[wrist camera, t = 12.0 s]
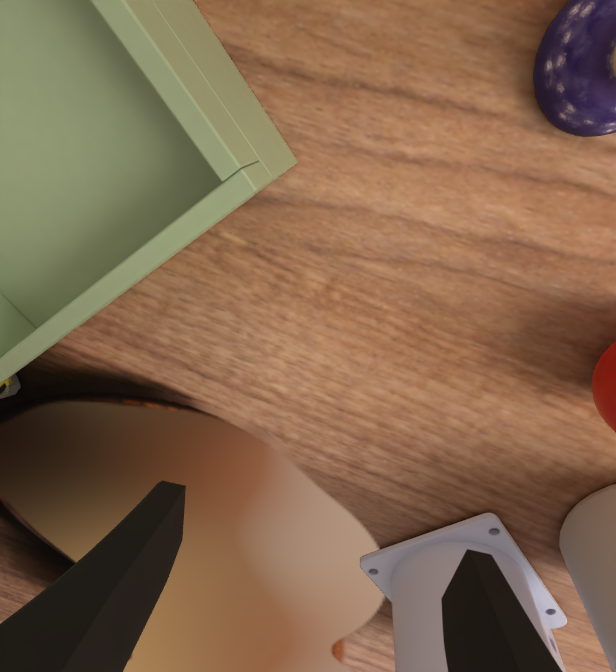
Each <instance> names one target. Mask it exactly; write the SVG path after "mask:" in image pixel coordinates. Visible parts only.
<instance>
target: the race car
mask: <svg viewBox="0 0 616 672" xmlns="http://www.w3.org/2000/svg"><path fill="white" fill-rule="evenodd" d="M20 388H21V386H20V383H19V380H18V378H17V375H16V374H13V375H12V376H11V377H9V378H8V379H7V380H5V381H4V382H0V399H1V398H4V397H8V396H11V395H14V394H16V393H17V391H18V389H20Z"/></svg>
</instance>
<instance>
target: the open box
mask: <svg viewBox="0 0 616 672" xmlns="http://www.w3.org/2000/svg"><path fill="white" fill-rule="evenodd" d="M296 164H297V160H296V158H295V156H294V155H293V153H292V152H291V150H290V149H289V147H288V146H287V144H286V143H285V141H284V140H283V138H282V137H281V135H280V133H279V132H278V130H277V129H276V127H275V126H274V124H273V123H272V121H271V120H270V118H269V117H268V115H267V114H266V112H265V110H264V109H263V107H262V106H261V104H260V103H259V101H258V100H257V98H256V97H255V95H254V94H253V92H252V91H251V89H250V87H249V86H248V84H247V83H246V81H245V80H244V78H243V77H242V75H241V74H240V72H239V71H238V69H237V68H236V66H235V64H234V63H233V61H232V60H231V58H230V57H229V55H228V54H227V52H226V51H225V49H224V48H223V46H222V45H221V43H220V41H219V40H218V38H217V37H216V35H215V34H214V32H213V31H212V29H211V28H210V26H209V25H208V23H207V22H206V20H205V19H204V17H203V15H202V14H201V12H200V11H199V9H198V8H197V6H196V5H195V3H194V2H193V0H0V382H4V381H5V380H7V379H8V378H9V377H11V376H12V375H13V374H15V373H16V372H17V371H19V370H20V369H22V368H23V367H24V366H26V365H27V364H28V363H30V362H31V361H32V360H34V359H35V358H36V357H38V356H39V355H41V354H42V353H43V352H45V351H46V350H47V349H49V348H50V347H51V346H53V345H54V344H56V343H57V342H58V341H60V340H61V339H62V338H64V337H65V336H66V335H68V334H69V333H71V332H72V331H73V330H75V329H76V328H77V327H79V326H80V325H81V324H83V323H84V322H85V321H87V320H88V319H90V318H91V317H92V316H94V315H95V314H96V313H98V312H99V311H100V310H102V309H103V308H105V307H106V306H107V305H109V304H110V303H111V302H113V301H114V300H115V299H117V298H118V297H119V296H121V295H122V294H123V293H125V292H126V291H127V290H129V289H130V288H131V287H133V286H134V285H135V284H137V283H138V282H139V281H141V280H142V279H143V278H145V277H146V276H147V275H149V274H150V273H151V272H153V271H154V270H155V269H157V268H158V267H159V266H161V265H162V264H163V263H165V262H166V261H167V260H169V259H170V258H171V257H173V256H174V255H175V254H177V253H178V252H179V251H181V250H182V249H183V248H185V247H186V246H187V245H189V244H190V243H191V242H193V241H194V240H195V239H197V238H198V237H199V236H201V235H202V234H203V233H205V232H206V231H207V230H209V229H210V228H211V227H213V226H214V225H215V224H217V223H218V222H219V221H221V220H222V219H224V218H225V217H226V216H228V215H229V214H230V213H232V212H233V211H234V210H236V209H237V208H238V207H240V206H241V205H242V204H244V203H245V202H246V201H248V200H249V199H250V198H252V197H253V196H254V195H256V194H257V193H258V192H260V191H261V190H262V189H264V188H265V187H266V186H268V185H269V184H270V183H272V182H273V181H274V180H276V179H277V178H278V177H280V176H281V175H282V174H284V173H285V172H286V171H288V170H289V169H290V168H292V167H293V166H294V165H296Z"/></svg>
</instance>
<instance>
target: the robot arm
mask: <svg viewBox="0 0 616 672" xmlns="http://www.w3.org/2000/svg"><path fill="white" fill-rule="evenodd" d="M185 489H186V486H183V485H179V484H175V483H170V482H166V481H161V482H159V483H158V484H157V485H156V486H155V487H154V488H153V489H152V490H151V491H150V492H149V494H148V495H147V496H146V497H145V498H144V499H143V500H142V501H141V502H140V503H139V504H138V505H137V506H136V507H135V508H134V509H133V510H132V511H131V512H130V513H129V514H128V515H127V516H126V517H125V518H124V520H122V521H121V522H120V523H119V524H118V525H117V526H116V527H115V528H114V529H113V530H112V531H111V532H110V533H109V534H108V535H107V536H106V537H105V538H103V539H102V540H101V541H100V542H99V543H98V544H97V545H96V546H95V547H94V548H93V549H92V550H90V551H89V552H88V553H87V554H86V555H85V556H84V557H83V558H82V559H80V560H79V561H78V562H77V563H76V564H74V565H73V566H72V567H71V568H70V569H69V570H67V571H66V572H65V573H64V574H63V575H62V576H61V577H59V578H58V579H57V580H56V581H55V582H53V583H52V584H51V585H50V586H49V587H47V588H46V589H45V590H44V591H42V592H41V593H40V594H39V595H37V596H36V597H35V598H34V599H32V600H31V601H30V602H29V603H27V604H26V605H25V606H23V607H22V608H21V609H19V610H18V611H17V612H15V613H14V614H13V615H11V616H10V617H9V618H8V619H6V620H5V621H3V622H2V623H1V624H0V672H123V670H124V668H125V666H126V664H127V662H128V660H129V658H130V656H131V654H132V652H133V650H134V648H135V646H136V644H137V641H138V640H139V637H140V635H141V633H142V631H143V629H144V627H145V625H146V623H147V621H148V619H149V617H150V615H151V613H152V611H153V609H154V607H155V604H156V603H157V601H158V599H159V596H160V594H161V592H162V590H163V588H164V586H165V584H166V582H167V579H168V577H169V574H170V571H171V569H172V566H173V564H174V561H175V558H176V555H177V552H178V550H179V547H180V544H181V542H182V535H183V520H184V519H183V518H184V504H185ZM492 528H495V529H492ZM360 567H361V569H362V570H363V571H364V572H365V573H366V574H367V575H368V576H369V578H370V579H371V580H372V581H373V582H374V583H375V584H376V586H378V588H379V589H380V590H381V591H382V592H383V593H384V595H385V596H386V597H387V598H388V599H389V600H390V601H391V603H392V614H393V634H394V654H395V672H566V671H565V668H564V665H563V662H562V659H561V657H560V654H559V651H558V648H557V645H556V643H555V640H554V637H553V634H552V631H551V629H554V628H558V627H562V626H564V625H565V624H566V623H567V619H566V617H565V614H564V612H563V611H562V610H561V608H560V607H559V605H558V604H557V602H556V601H555V599H554V598H553V596H552V595H551V594H550V592H549V591H548V589H547V588H546V586H545V585H544V583H543V582H542V580H541V579H540V577H539V576H538V575H537V573H536V572H535V570H534V569H533V567H532V566H531V564H530V563H529V561H528V560H527V559H526V557H525V556H524V554H523V553H522V551H521V550H520V548H519V547H518V545H517V544H516V543H515V541H514V540H513V538H512V537H511V535H510V534H509V532H508V531H507V529H506V528H505V527H504V525H503V524H502V522H501V521H500V519H499V518H498V516H496V515H495V514H493V513H484V514H481V515H478V516H475V517H472V518H469V519H466V520H463V521H461V522H458V523H455V524H452V525H449V526H446V527H443V528H441V529H438V530H435V531H432V532H429V533H426V534H423V535H421V536H418V537H415V538H412V539H409V540H406V541H403V542H400V543H398V544H395V545H392V546H389V547H386V548H383V549H380V550H378V551H375V552H372V553H369V554H366V555H364V556H362V557H361V558H360Z"/></svg>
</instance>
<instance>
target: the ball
mask: <svg viewBox="0 0 616 672" xmlns="http://www.w3.org/2000/svg"><path fill="white" fill-rule="evenodd" d="M592 394H593V399H594V402H595V405H596V407H597V409H598V411H599V413H600V415H601V416H602V418H603V419H604V421H605V422H606V423H607V424H608V425H609V426H610V427H611V428H612V429H613V430H614V431H615V432H616V341H615V342H614V343H613V344H612V345H610V346H609V347H608V348H607V349H606V350H605V352H604V353H603V354H602V355H601V357H600V359H599V360H598V362H597V364H596V366H595V369H594V372H593V377H592Z"/></svg>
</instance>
